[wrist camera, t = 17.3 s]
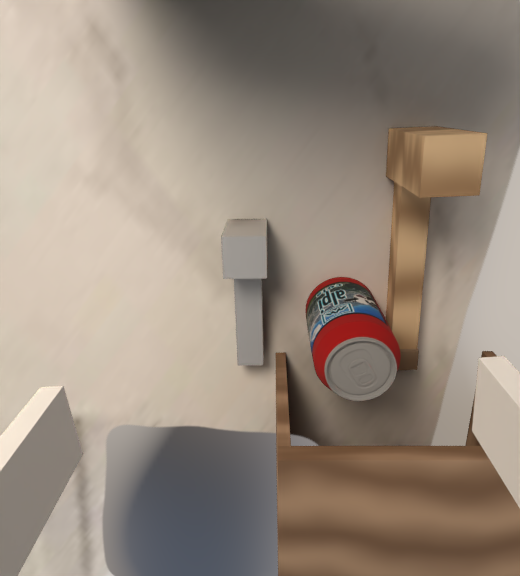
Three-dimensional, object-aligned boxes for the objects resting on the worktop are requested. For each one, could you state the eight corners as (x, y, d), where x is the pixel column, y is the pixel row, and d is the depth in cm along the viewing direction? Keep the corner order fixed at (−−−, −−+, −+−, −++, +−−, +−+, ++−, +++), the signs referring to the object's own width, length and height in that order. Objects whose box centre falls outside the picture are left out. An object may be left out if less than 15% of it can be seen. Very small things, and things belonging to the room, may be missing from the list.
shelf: (275, 352, 48) (277, 460, 33) (492, 351, 47) (589, 460, 33) (276, 474, 54) (278, 610, 39) (469, 474, 53) (543, 612, 39)
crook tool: (320, 131, 40) (336, 140, 30) (436, 126, 39) (487, 133, 30) (320, 356, 48) (332, 417, 39) (415, 353, 47) (451, 414, 38)
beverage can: (354, 261, 44) (383, 315, 33) (385, 317, 46) (421, 385, 35) (292, 294, 45) (299, 356, 34) (324, 347, 47) (340, 422, 36)
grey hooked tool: (227, 219, 43) (221, 236, 37) (266, 218, 43) (266, 236, 37) (234, 352, 48) (229, 385, 42) (268, 352, 48) (268, 385, 42)
